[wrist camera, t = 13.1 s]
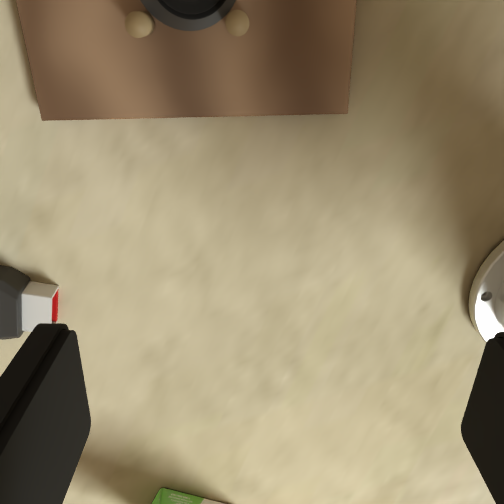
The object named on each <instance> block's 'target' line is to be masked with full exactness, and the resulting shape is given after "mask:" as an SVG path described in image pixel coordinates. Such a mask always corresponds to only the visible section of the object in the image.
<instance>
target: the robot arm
mask: <svg viewBox="0 0 504 504" xmlns="http://www.w3.org/2000/svg"><path fill="white" fill-rule="evenodd" d="M469 312H470V318H471V321H472V323H473V325H474V327H475V329H476V331H477V332H478V333H479V334H480V336H481V337H482V339H483V340H484V341H485V342H486V346H485V349H484V352H483V355H482V359H481V362H480V365H479V368H478V371H477V375H476V378H475V381H474V384H473V388H472V391H471V394H470V397H469V401H468V404H467V407H466V410H465V413H464V417H463V420H462V424H461V433H462V437H463V440H464V442H465V444H466V446H467V448H468V450H469V452H470V454H471V456H472V458H473V460H474V462H475V464H476V466H477V467H478V469H479V471H480V473H481V475H482V477H483V479H484V481H485V483H486V485H487V487H488V489H489V491H490V493H491V495H492V497H493V499H494V501H495V502H496V504H504V241H502V242H501V243H500V244H499V245H498V246H497V247H496V248H495V249H494V250H493V251H492V252H491V253H490V255H489V256H488V257H487V259H486V260H485V261H484V263H483V264H482V265H481V267H480V269H479V271H478V272H477V274H476V276H475V278H474V280H473V284H472V287H471V290H470V294H469ZM90 426H91V417H90V411H89V405H88V400H87V394H86V388H85V382H84V376H83V370H82V364H81V358H80V352H79V346H78V340H77V335H76V332H75V331H74V330H69V329H68V327H67V325H66V324H54V323H40V324H37V325H36V326H35V328H34V329H33V331H32V332H31V334H30V335H29V336H28V338H27V339H26V341H25V342H24V344H23V345H22V347H21V348H20V349H19V351H18V352H17V354H16V355H15V357H14V358H13V359H12V361H11V362H10V364H9V365H8V367H7V368H6V370H5V371H4V372H3V374H2V375H1V377H0V504H62V503H63V501H64V498H65V495H66V493H67V490H68V488H69V485H70V482H71V480H72V477H73V475H74V472H75V469H76V467H77V464H78V462H79V459H80V456H81V454H82V451H83V448H84V446H85V443H86V441H87V438H88V435H89V432H90Z"/></svg>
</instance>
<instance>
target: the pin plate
mask: <svg viewBox="0 0 504 504" xmlns="http://www.w3.org/2000/svg"><path fill="white" fill-rule="evenodd" d="M356 1H357V0H226V1H225V2H224V4H223V5H222V6H221V7H220V8H219V9H218V10H217V11H216V12H215V13H213V14H212V15H210V16H208V17H205V18H202V19H196V20H189V19H183V18H180V17H177V16H175V15H173V14H172V13H170V12H169V11H167V10H166V9H165V8H164V7H163V6H162V5H161V4H160V3H159V2H158V0H16V3H17V8H18V12H19V17H20V21H21V26H22V31H23V35H24V40H25V45H26V49H27V54H28V58H29V63H30V68H31V72H32V77H33V81H34V86H35V91H36V95H37V100H38V105H39V109H40V114H41V118H42V121H46V120H90V119H134V118H177V117H221V116H265V115H308V114H348V101H349V89H350V76H351V64H352V51H353V39H354V26H355V14H356Z"/></svg>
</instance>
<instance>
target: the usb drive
mask: <svg viewBox="0 0 504 504" xmlns="http://www.w3.org/2000/svg"><path fill="white" fill-rule="evenodd" d="M58 288H59V285H53V284H46V283H39V282H32V281H30V277H29V276H27V275H25V274H23V273H22V272H20V271H18V270H16V269H14V268H12V267H8V266H2V265H0V339H12V338H19V337H20V336H21V335H22V333H23V332H24V331H29V332H32V331H33V329H34V328H35V326H36V325H37V324H40V323H54V324H57V322H58V320H57V313H58Z"/></svg>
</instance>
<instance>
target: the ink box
mask: <svg viewBox="0 0 504 504" xmlns="http://www.w3.org/2000/svg"><path fill="white" fill-rule="evenodd" d="M152 504H225V503H221V502H217V501H213V500H208V499H205V498H201V497H197V496H193V495H189V494H185V493H181V492H178V491H174V490H170V489H166V488H161V489H160V490H159V492H158V493H157V495H156V497H155V499H154V500H153V502H152Z"/></svg>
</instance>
